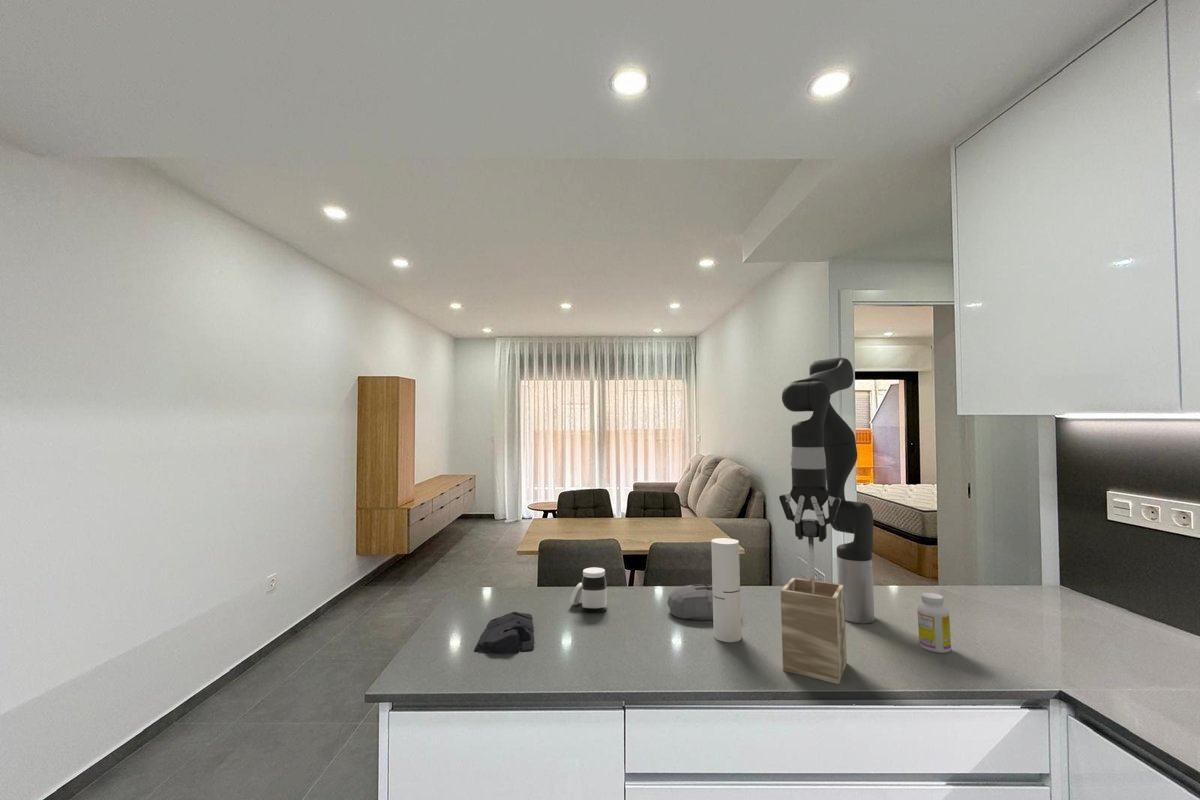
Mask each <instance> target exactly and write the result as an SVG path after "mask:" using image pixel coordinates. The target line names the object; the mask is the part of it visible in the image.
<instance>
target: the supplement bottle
mask: <svg viewBox="0 0 1200 800" xmlns="http://www.w3.org/2000/svg"><path fill="white" fill-rule="evenodd" d="M920 597H921V598H920V599H921V601H922V602H921V603H919V604H918V605H917V609H916V610H917V625H918V641H919V642H918V643H919V646H920V647H921V648H923V649H925V650H926V651H929V652H933V653H937V654H944V653H945V654H946V653H949V652H951V650H952V641H951V626H950V625H951V624H950V623H951V621H950V612H949V609H948V608H947V607H946V606H944V601H945V600H944V596H943V595H941V594H938V593H933V592H922V593H921V595H920Z"/></svg>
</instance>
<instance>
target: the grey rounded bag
mask: <svg viewBox="0 0 1200 800" xmlns="http://www.w3.org/2000/svg"><path fill="white" fill-rule="evenodd" d="M666 603H667V606H668V608H669V611H670V614H671V615H673V616H674V617H676V618H680V619H683V620H684V619H688V620H692V621H693V620H694V621H713V587H712V583H709V584H708V583H699V584H687V585H684V586H680V587H677V588H675V589H673V591H671V592H670V593H669V594H668V598H667V602H666Z"/></svg>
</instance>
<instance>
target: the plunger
mask: <svg viewBox="0 0 1200 800" xmlns="http://www.w3.org/2000/svg"><path fill="white" fill-rule="evenodd" d="M819 525H820V524H819V521H818V519H813V518H802V520H801V528H802V536H803V537H805V538H807V542H808V544H807V545H808V546H807V547H808V566H809V567H808V569H809V570H808V571H809V574H808V575H809V576H808V577H809V580H810V594H815V595H816V590H815V581H816V568H815V567H816V565H815V538H819Z"/></svg>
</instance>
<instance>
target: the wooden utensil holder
mask: <svg viewBox="0 0 1200 800" xmlns="http://www.w3.org/2000/svg"><path fill="white" fill-rule="evenodd" d="M815 590H816V595H815V594H810V579H805V578H798V577H791V578H790V580H789V581H788V582H787V583H786V584H785V585H784V586H783V587H782V588H781V589H780V610H781V611H780V612H781V616H780V617H781V642H782V643H781V644H782V650H781V652H782V671H783V672H787V673H791V674H796V675H798V676H799V675H800V676H804V677H808V678H811V679H816V680H820V681H825V682H828V683H831V684H837V685H839V684H840V682H841V679H842V676H843V673H844V672H845V668H846V666H847V663H848V662H847V660H848V659H847V639H846V638H847V637H846V634H847V633H846V620H845V604H844V585H841V584H838V583H832V582H827V581H820V580H815Z"/></svg>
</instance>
